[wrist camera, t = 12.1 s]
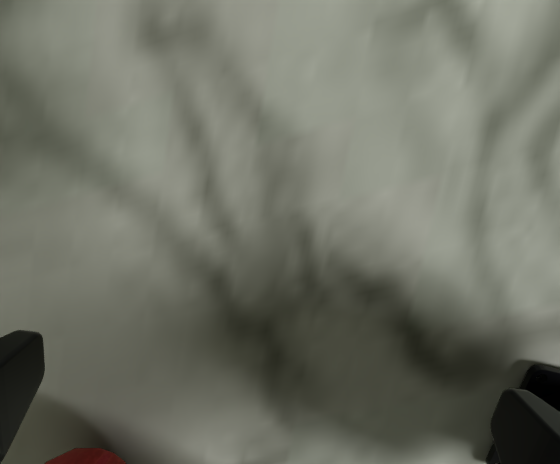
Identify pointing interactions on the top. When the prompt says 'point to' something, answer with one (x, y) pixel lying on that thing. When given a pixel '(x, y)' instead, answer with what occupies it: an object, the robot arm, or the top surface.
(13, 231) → the top surface
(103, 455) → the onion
